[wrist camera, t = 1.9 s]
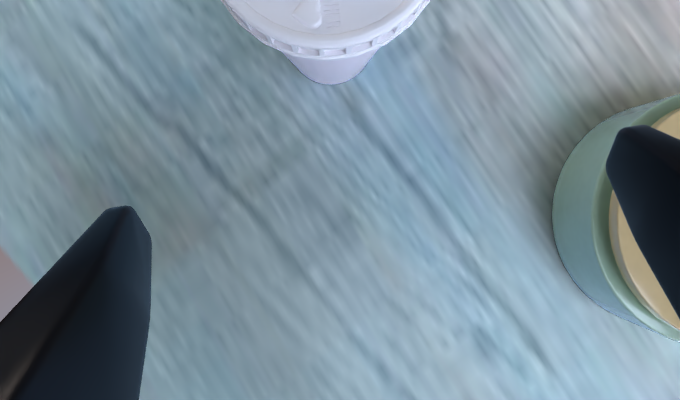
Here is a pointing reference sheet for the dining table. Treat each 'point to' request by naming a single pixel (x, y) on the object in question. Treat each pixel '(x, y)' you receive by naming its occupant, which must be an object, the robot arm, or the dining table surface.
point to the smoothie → (326, 31)
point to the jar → (611, 225)
